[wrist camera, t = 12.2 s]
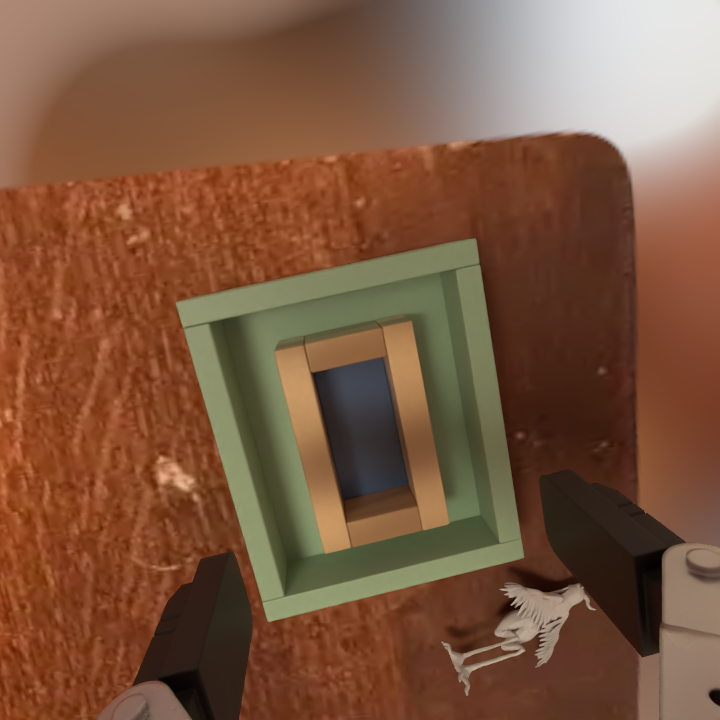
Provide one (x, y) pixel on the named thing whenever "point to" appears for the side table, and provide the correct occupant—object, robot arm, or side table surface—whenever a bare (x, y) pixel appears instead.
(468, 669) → the figurine
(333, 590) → the holder
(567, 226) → the side table surface
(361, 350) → the frame
